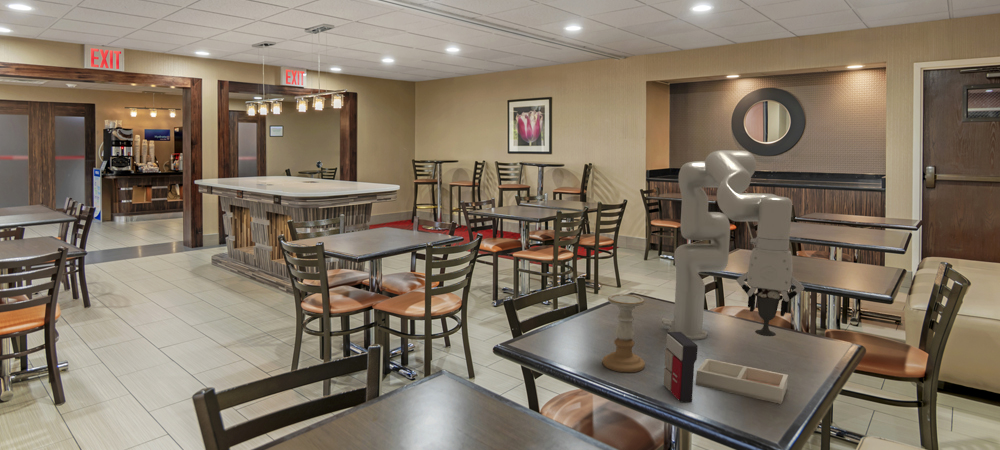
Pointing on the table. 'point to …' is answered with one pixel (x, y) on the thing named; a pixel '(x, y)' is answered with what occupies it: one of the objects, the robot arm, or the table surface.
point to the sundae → (767, 308)
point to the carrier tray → (742, 380)
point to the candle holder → (624, 336)
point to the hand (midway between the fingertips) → (767, 312)
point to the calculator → (680, 365)
